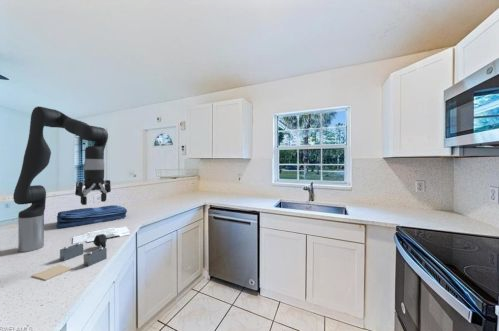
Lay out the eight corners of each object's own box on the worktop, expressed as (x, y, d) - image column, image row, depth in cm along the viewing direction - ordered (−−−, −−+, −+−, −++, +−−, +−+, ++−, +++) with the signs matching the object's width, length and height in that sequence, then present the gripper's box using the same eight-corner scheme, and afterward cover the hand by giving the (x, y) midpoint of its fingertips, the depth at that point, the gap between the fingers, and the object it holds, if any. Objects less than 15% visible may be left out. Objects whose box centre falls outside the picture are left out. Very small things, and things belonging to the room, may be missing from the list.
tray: (73, 236, 126) (73, 230, 126) (125, 228, 144) (125, 222, 144) (72, 247, 110) (72, 240, 110) (131, 235, 129) (131, 230, 129)
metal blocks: (59, 260, 94) (59, 248, 94) (79, 253, 101) (79, 242, 101) (88, 267, 88) (88, 254, 88) (106, 259, 95) (106, 247, 95)
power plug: (99, 252, 101) (93, 233, 107) (96, 261, 104) (91, 242, 110) (112, 248, 105) (106, 230, 111) (109, 257, 108) (104, 239, 114)
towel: (127, 218, 168) (128, 206, 167) (57, 230, 137) (57, 215, 137) (120, 213, 184) (120, 202, 184) (55, 223, 154) (55, 209, 154)
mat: (31, 276, 80) (31, 275, 80) (59, 266, 89) (59, 264, 89) (45, 281, 77) (45, 279, 77) (72, 269, 86) (72, 268, 86)
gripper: (104, 168, 103) (103, 200, 104) (71, 168, 90) (71, 205, 90) (114, 168, 101) (114, 201, 101) (83, 169, 88) (82, 206, 88)
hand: (94, 203), depth 96 cm, fingers open, 8 cm apart
